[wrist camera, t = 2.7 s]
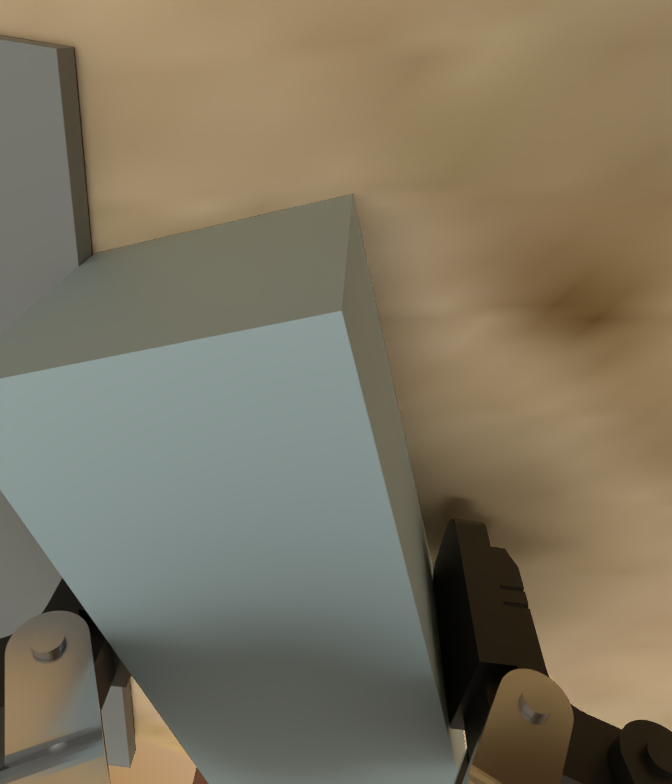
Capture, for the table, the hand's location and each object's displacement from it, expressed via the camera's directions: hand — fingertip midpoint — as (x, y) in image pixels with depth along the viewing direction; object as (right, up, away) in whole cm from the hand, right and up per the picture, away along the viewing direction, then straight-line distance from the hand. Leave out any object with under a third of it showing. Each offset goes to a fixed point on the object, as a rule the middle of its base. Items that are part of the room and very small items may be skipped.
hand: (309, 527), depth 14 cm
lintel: (0, 0, +1) cm, 1 cm away
